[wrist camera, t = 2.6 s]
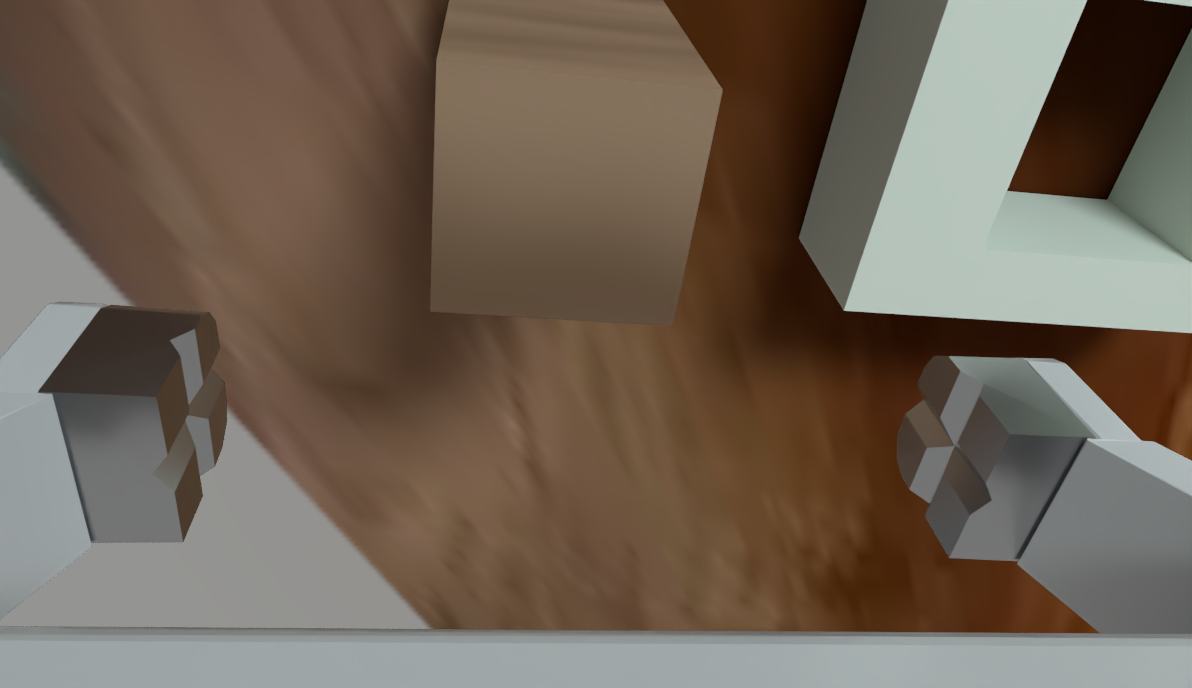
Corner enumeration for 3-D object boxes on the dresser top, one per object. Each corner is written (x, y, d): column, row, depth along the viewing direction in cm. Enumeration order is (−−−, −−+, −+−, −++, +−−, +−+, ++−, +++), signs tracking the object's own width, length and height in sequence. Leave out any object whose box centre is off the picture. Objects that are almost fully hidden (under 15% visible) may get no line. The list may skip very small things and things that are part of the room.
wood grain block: (463, -65, 20) (435, 60, 12) (633, -45, 20) (722, 90, 12) (456, 104, 22) (429, 312, 14) (610, 118, 23) (673, 326, 14)
